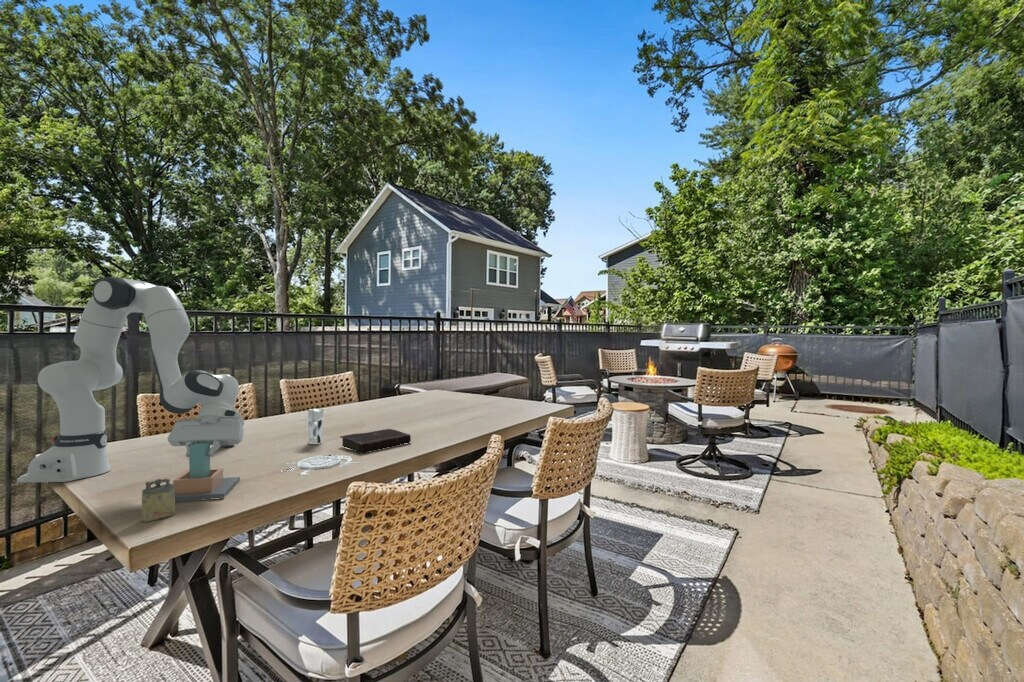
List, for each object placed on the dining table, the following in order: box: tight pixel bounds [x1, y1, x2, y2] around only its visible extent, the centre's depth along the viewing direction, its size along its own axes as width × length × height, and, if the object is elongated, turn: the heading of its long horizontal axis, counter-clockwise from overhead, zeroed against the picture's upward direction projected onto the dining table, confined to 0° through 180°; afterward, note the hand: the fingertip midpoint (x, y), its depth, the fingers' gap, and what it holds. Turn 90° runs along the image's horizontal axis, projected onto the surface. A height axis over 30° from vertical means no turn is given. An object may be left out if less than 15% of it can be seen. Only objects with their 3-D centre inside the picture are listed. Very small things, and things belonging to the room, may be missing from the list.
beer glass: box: [306, 408, 325, 445], centre depth 199 cm, size 7×7×15 cm
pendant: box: [280, 453, 360, 476], centre depth 169 cm, size 21×28×1 cm
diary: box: [339, 428, 412, 454], centre depth 198 cm, size 19×25×5 cm
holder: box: [172, 467, 241, 503], centre depth 137 cm, size 18×16×6 cm
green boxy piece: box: [140, 478, 176, 523], centre depth 118 cm, size 7×4×10 cm, turn 140°
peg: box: [188, 443, 211, 479], centre depth 137 cm, size 4×4×10 cm
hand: (198, 456), depth 136 cm, fingers closed on peg, 4 cm apart
